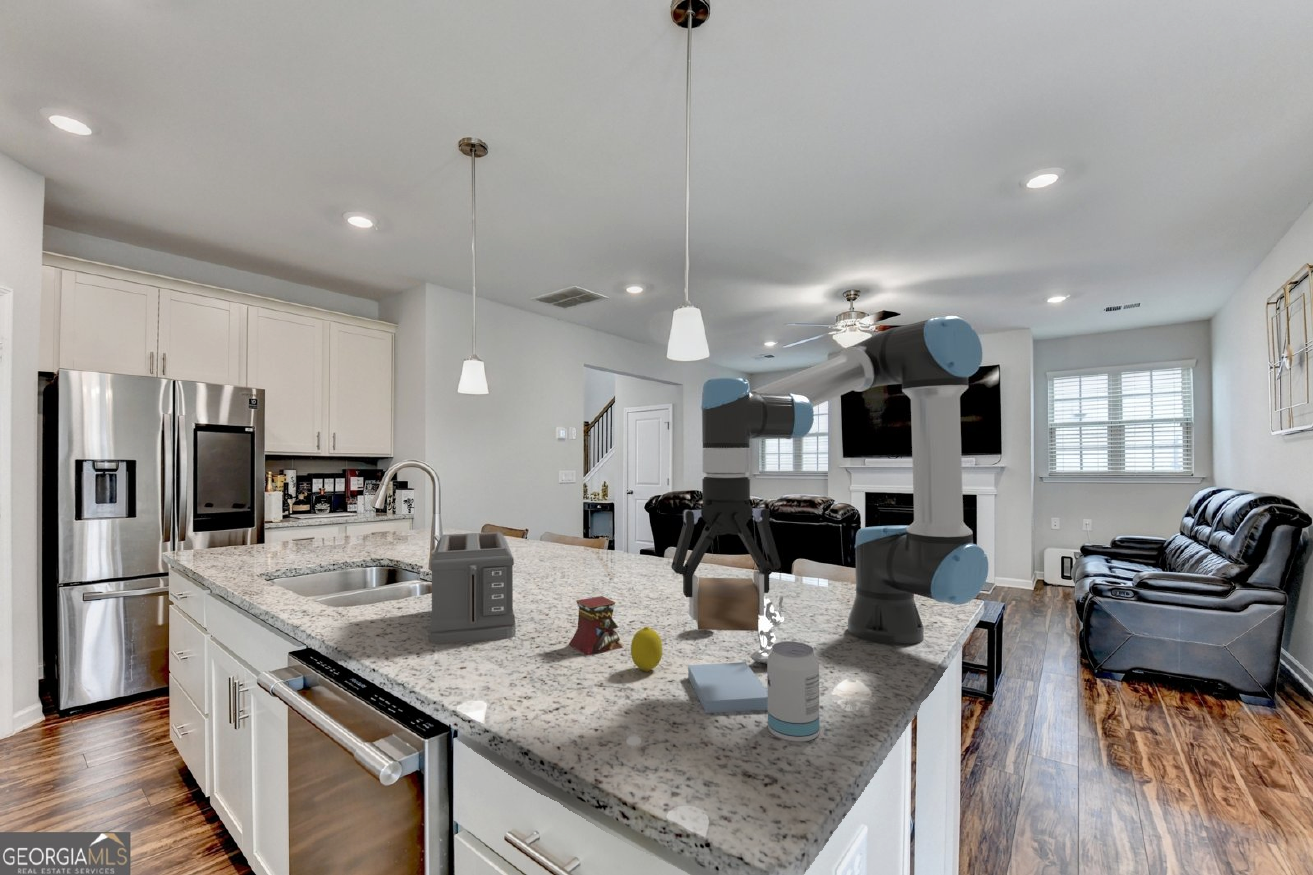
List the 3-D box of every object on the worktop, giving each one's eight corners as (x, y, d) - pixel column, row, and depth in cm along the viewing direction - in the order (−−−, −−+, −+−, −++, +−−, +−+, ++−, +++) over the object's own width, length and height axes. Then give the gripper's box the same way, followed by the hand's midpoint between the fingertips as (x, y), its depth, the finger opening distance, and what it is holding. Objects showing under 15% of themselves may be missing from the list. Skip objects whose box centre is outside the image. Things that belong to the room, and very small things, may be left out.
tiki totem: (587, 658, 110) (587, 609, 110) (567, 646, 117) (567, 600, 117) (626, 649, 115) (626, 602, 115) (604, 637, 122) (604, 593, 122)
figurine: (772, 674, 101) (771, 605, 102) (739, 667, 105) (738, 600, 105) (792, 658, 109) (792, 593, 109) (761, 651, 113) (760, 589, 113)
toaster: (427, 652, 114) (427, 556, 114) (435, 609, 143) (435, 533, 143) (517, 643, 119) (517, 551, 119) (507, 603, 148) (507, 530, 149)
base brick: (745, 679, 101) (745, 662, 101) (772, 717, 87) (772, 696, 87) (688, 683, 99) (688, 665, 99) (706, 722, 85) (706, 701, 85)
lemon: (647, 664, 107) (646, 620, 107) (668, 672, 103) (668, 626, 103) (624, 672, 103) (624, 626, 103) (646, 681, 99) (645, 634, 99)
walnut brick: (752, 608, 99) (752, 578, 99) (758, 631, 87) (758, 597, 87) (698, 607, 100) (698, 577, 100) (697, 629, 88) (697, 596, 88)
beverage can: (775, 720, 85) (774, 637, 85) (823, 730, 82) (823, 644, 82) (761, 742, 79) (761, 652, 79) (814, 754, 76) (813, 660, 76)
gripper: (783, 473, 99) (784, 605, 99) (651, 475, 95) (652, 612, 95) (802, 475, 92) (803, 618, 92) (660, 477, 88) (661, 626, 87)
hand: (726, 615), depth 93 cm, fingers closed on walnut brick, 10 cm apart
